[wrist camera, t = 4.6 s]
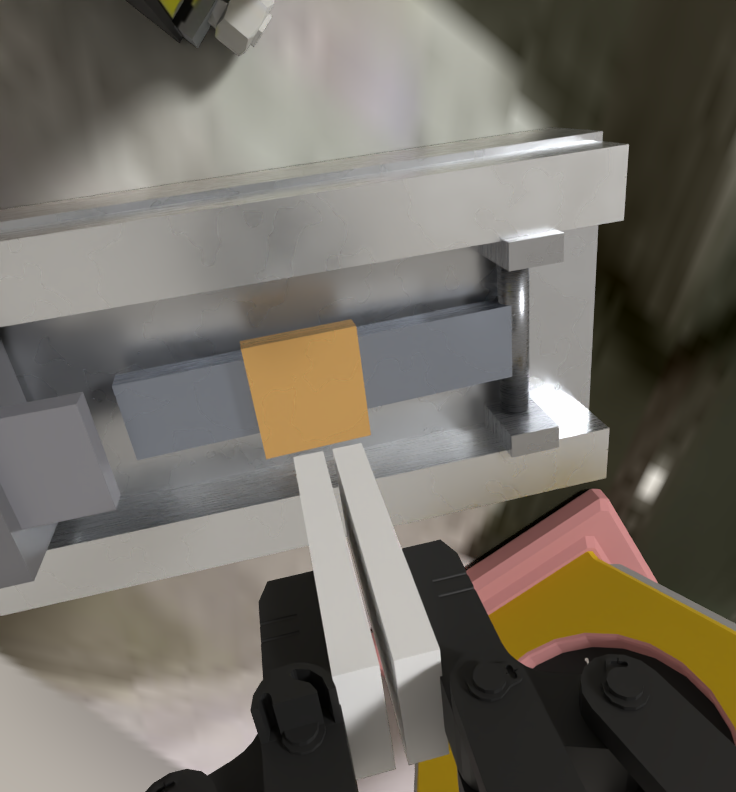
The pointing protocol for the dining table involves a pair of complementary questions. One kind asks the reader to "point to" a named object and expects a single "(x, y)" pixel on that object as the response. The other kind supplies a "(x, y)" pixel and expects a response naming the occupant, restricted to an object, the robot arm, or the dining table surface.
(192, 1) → the electrical component
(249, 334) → the rail slide plate
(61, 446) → the grey slider block
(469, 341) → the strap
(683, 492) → the dining table surface
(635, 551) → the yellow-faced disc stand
